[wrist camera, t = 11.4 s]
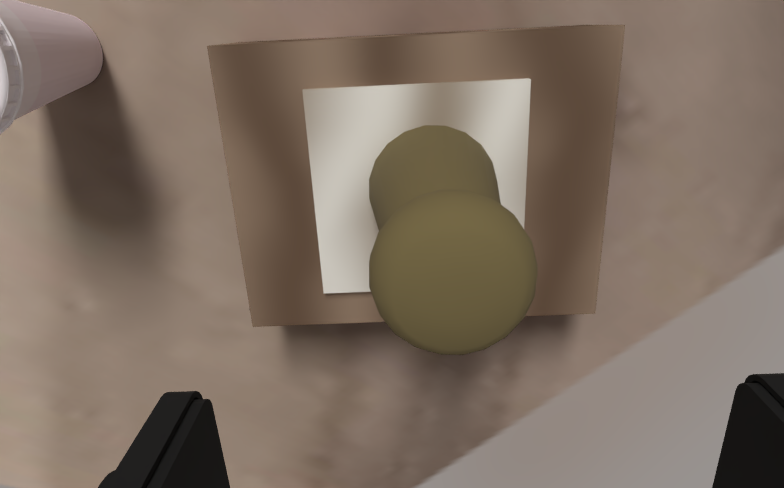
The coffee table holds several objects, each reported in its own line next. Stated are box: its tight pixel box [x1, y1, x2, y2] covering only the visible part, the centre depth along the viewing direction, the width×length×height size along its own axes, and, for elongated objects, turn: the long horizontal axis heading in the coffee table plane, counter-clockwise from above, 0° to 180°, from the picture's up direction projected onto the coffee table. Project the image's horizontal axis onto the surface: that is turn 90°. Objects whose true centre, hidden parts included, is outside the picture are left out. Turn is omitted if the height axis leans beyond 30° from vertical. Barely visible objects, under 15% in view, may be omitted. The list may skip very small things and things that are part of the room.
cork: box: [369, 125, 538, 355], centre depth 21 cm, size 6×6×11 cm
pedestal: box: [207, 25, 625, 327], centre depth 28 cm, size 18×14×5 cm
